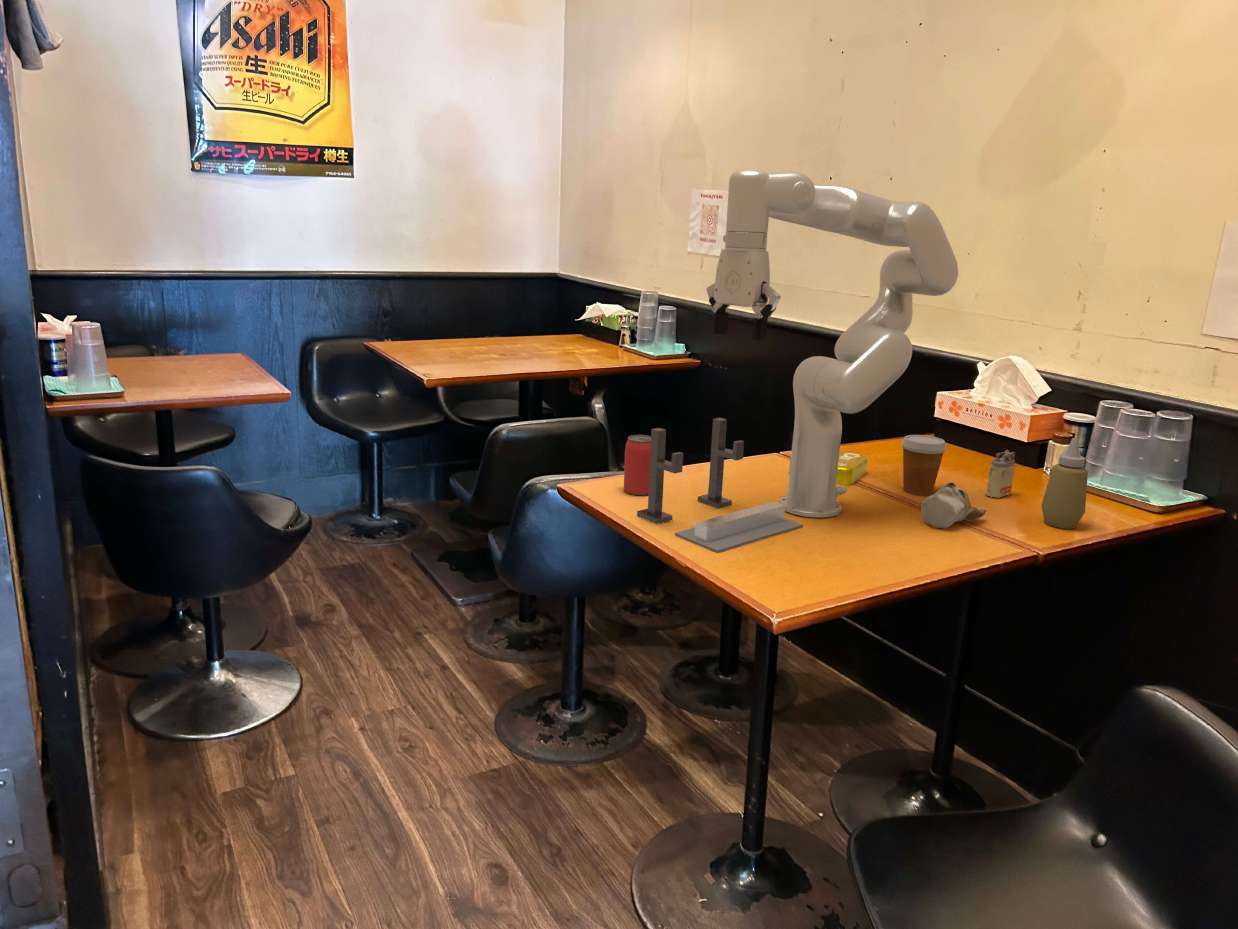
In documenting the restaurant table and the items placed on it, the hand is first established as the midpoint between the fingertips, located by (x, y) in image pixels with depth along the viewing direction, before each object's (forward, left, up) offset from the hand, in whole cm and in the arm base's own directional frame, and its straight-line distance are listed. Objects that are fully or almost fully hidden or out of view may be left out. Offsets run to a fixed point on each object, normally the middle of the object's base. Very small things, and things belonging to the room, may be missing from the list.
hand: (739, 336), depth 166 cm
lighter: (-64, +23, -36) cm, 77 cm away
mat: (+2, +6, -36) cm, 37 cm away
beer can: (+2, -24, -36) cm, 44 cm away
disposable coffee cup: (-51, +11, -36) cm, 64 cm away
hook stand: (+2, -7, -36) cm, 37 cm away
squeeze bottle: (-55, +41, -36) cm, 78 cm away
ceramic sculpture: (-37, +26, -37) cm, 58 cm away
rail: (+2, +6, -36) cm, 36 cm away
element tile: (-45, -10, -37) cm, 59 cm away
